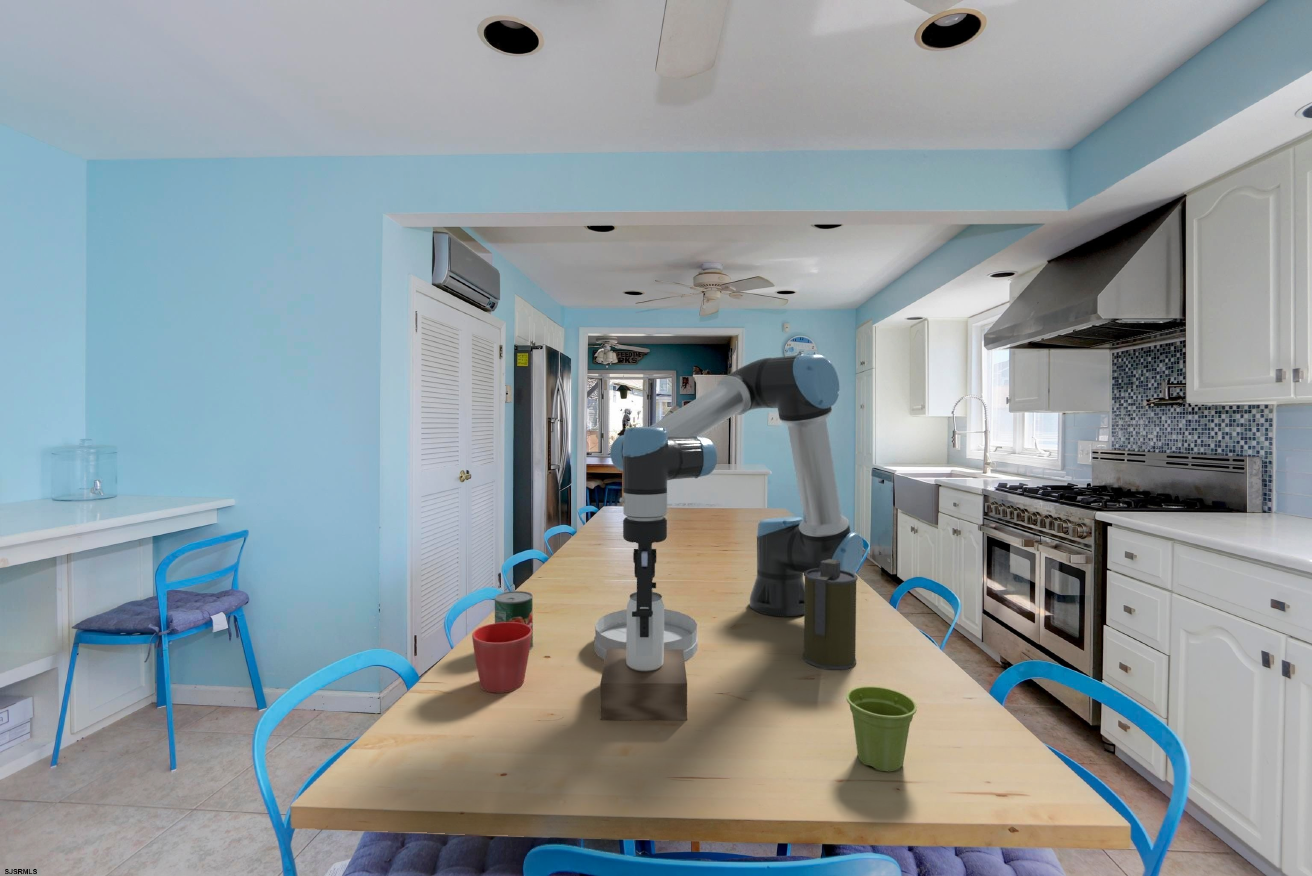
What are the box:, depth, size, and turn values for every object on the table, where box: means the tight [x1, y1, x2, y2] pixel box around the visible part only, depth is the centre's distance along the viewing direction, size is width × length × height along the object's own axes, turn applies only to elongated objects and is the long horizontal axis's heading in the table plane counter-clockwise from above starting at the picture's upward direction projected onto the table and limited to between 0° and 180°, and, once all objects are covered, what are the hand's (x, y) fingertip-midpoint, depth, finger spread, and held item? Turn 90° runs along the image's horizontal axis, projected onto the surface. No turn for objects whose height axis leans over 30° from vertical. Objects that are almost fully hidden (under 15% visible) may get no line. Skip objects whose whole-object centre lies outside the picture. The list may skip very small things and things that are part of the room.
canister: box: [802, 559, 858, 671], centre depth 120 cm, size 11×10×20 cm
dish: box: [593, 608, 699, 662], centre depth 127 cm, size 22×22×5 cm
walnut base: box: [599, 649, 688, 721], centre depth 103 cm, size 14×14×6 cm
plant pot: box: [845, 685, 918, 772], centre depth 85 cm, size 9×9×9 cm
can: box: [626, 591, 665, 672], centre depth 102 cm, size 6×6×12 cm
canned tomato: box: [494, 590, 534, 650], centre depth 125 cm, size 8×8×11 cm
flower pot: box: [471, 622, 532, 694], centre depth 108 cm, size 11×11×10 cm
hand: (644, 639), depth 102 cm, fingers open, 13 cm apart
